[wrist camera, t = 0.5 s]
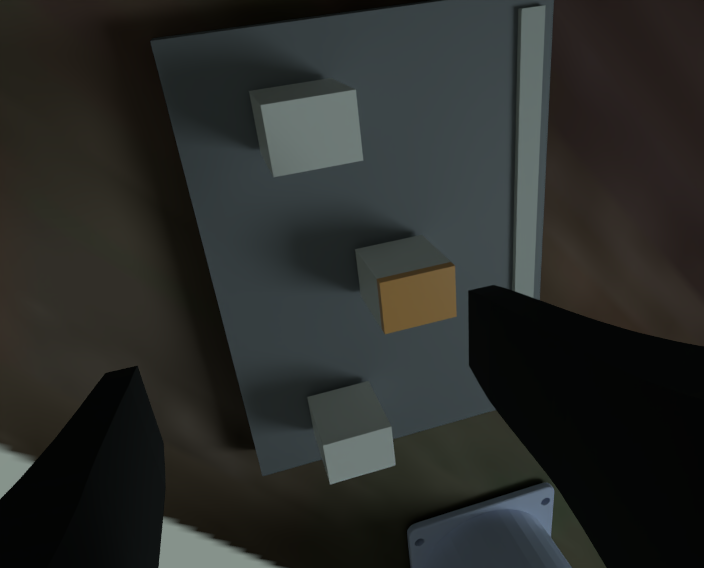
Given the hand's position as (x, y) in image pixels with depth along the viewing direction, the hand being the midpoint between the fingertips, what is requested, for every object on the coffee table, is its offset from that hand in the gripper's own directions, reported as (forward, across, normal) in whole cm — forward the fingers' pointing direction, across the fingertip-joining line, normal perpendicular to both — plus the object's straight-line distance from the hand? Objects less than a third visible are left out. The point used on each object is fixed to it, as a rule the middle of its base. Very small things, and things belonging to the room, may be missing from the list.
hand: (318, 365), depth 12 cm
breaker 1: (+7, -1, -4) cm, 8 cm away
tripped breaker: (+7, -4, +2) cm, 8 cm away
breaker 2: (+7, -2, +7) cm, 10 cm away
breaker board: (+9, -4, +2) cm, 10 cm away
